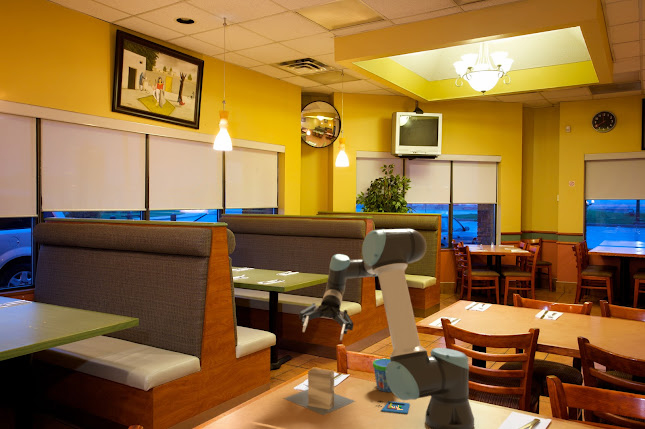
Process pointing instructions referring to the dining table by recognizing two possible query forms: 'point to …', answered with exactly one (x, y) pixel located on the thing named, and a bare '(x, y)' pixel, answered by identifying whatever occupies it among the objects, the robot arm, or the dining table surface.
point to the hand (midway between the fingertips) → (322, 332)
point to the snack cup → (381, 374)
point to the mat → (303, 401)
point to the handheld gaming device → (401, 405)
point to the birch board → (321, 388)
